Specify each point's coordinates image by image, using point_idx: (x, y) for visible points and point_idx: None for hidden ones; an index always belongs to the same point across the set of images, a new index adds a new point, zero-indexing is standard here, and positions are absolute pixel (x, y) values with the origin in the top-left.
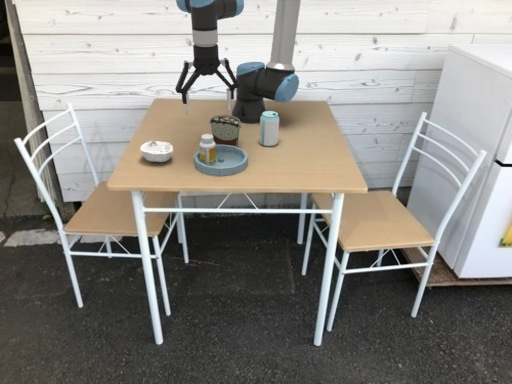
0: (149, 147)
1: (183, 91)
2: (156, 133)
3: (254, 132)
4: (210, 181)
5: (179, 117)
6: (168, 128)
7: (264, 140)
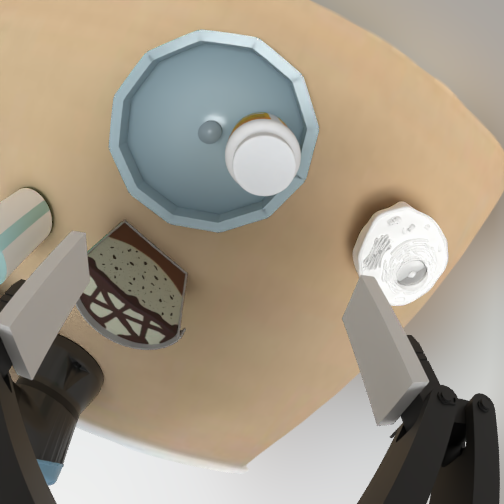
0: (426, 264)
1: (454, 406)
2: (316, 373)
3: None
4: (301, 27)
5: (229, 416)
6: (276, 386)
7: (35, 205)
